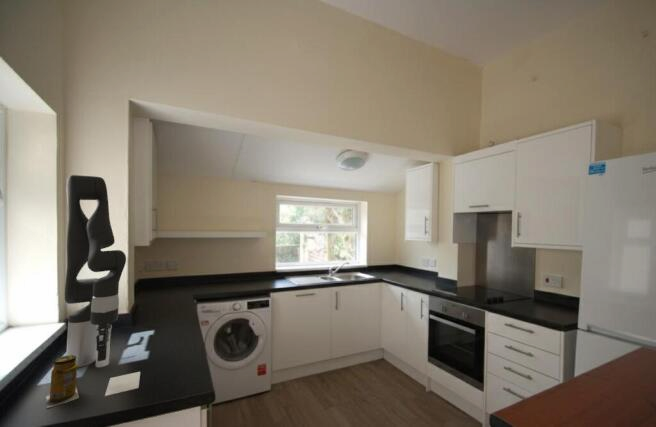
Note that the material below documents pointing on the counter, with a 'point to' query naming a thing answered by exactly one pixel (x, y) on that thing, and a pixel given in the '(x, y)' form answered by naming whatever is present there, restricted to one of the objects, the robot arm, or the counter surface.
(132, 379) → the paper
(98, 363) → the white bottle
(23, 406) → the counter surface
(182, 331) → the counter surface
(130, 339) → the counter surface
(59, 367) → the condiment
